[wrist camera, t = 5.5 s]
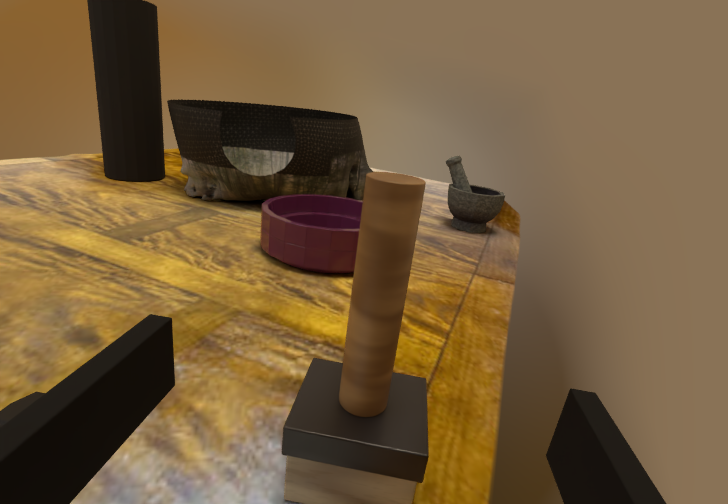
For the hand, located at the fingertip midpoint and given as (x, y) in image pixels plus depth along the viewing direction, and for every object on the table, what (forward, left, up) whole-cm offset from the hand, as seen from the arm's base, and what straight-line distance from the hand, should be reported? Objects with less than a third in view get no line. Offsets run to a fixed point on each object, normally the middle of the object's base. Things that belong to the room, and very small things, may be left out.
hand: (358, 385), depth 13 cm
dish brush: (+1, -5, -10) cm, 11 cm away
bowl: (+17, -34, -10) cm, 39 cm away
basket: (+38, -54, -10) cm, 67 cm away
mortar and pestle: (+3, -62, -10) cm, 63 cm away
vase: (+65, -47, -10) cm, 81 cm away
